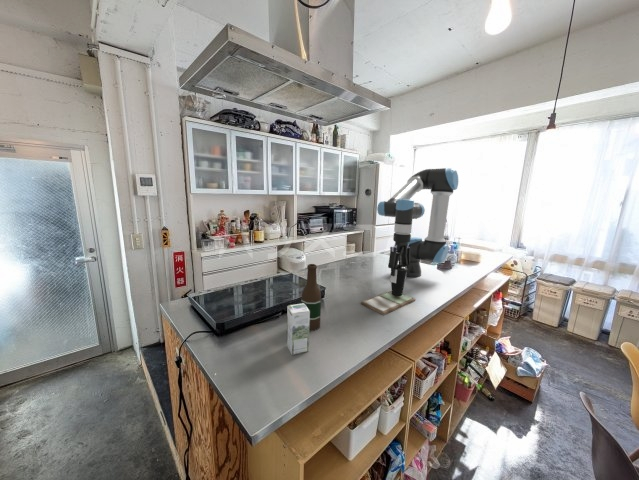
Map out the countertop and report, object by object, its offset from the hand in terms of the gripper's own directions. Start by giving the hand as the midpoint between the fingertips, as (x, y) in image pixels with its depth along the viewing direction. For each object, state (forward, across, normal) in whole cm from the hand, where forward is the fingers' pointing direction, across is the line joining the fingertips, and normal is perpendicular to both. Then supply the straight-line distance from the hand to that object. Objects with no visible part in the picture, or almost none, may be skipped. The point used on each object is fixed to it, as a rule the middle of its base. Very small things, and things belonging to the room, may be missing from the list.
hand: (398, 280), depth 120 cm
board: (+9, +6, 0) cm, 11 cm away
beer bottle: (+10, +48, -5) cm, 49 cm away
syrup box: (+10, +60, +4) cm, 61 cm away
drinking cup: (+7, 0, 0) cm, 7 cm away
